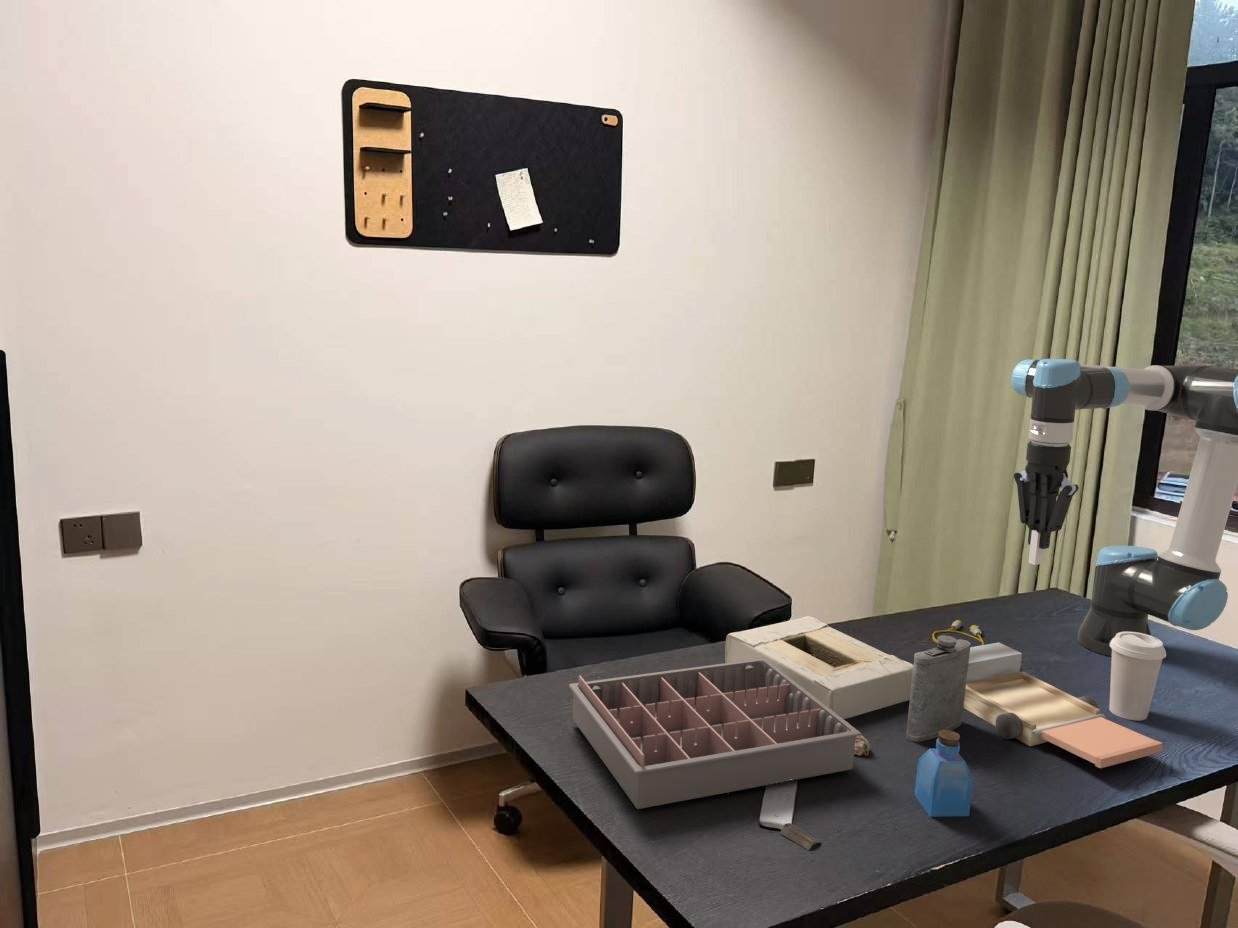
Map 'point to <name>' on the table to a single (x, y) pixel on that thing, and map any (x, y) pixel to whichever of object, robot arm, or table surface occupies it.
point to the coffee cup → (1134, 673)
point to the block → (799, 836)
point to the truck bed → (1017, 695)
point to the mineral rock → (861, 746)
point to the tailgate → (1099, 740)
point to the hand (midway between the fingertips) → (1036, 562)
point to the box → (827, 664)
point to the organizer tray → (709, 730)
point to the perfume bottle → (944, 778)
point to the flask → (938, 689)
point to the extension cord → (956, 625)
